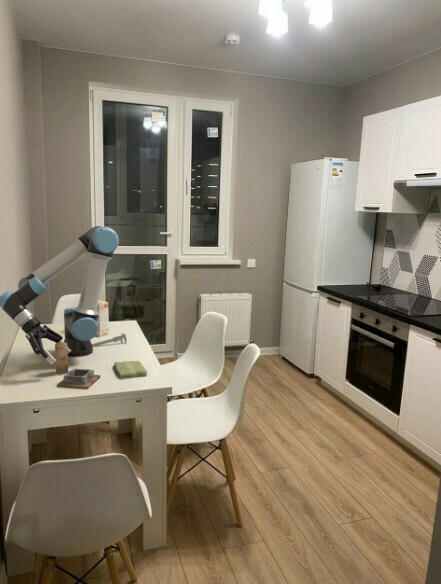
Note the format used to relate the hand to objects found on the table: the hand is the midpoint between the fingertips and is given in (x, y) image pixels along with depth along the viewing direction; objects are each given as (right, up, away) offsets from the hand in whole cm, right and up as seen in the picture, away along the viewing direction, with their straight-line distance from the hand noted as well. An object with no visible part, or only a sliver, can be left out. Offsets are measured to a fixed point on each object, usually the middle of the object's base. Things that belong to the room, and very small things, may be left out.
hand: (61, 357), depth 188 cm
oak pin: (0, -7, +2) cm, 7 cm away
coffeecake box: (-4, +4, +65) cm, 65 cm away
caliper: (+9, 0, +43) cm, 44 cm away
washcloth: (+28, -8, +6) cm, 30 cm away
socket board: (+10, -9, -9) cm, 16 cm away
